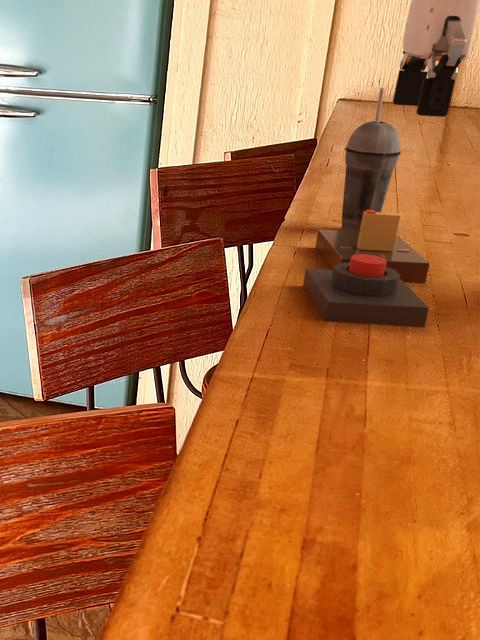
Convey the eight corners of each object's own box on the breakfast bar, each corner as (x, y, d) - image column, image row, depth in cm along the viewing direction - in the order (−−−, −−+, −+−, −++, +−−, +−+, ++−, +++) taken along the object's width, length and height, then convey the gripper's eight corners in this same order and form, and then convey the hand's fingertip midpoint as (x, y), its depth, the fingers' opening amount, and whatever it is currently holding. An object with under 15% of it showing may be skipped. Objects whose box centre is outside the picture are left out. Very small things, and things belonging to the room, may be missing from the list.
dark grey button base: (391, 291, 102) (398, 258, 101) (424, 327, 91) (433, 290, 90) (302, 286, 103) (308, 253, 102) (324, 321, 92) (331, 284, 91)
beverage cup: (390, 231, 128) (418, 87, 121) (378, 241, 123) (407, 91, 115) (338, 223, 132) (363, 83, 124) (325, 233, 126) (349, 87, 119)
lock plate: (392, 251, 118) (395, 232, 117) (425, 283, 105) (430, 261, 104) (314, 247, 119) (318, 228, 118) (338, 278, 106) (342, 257, 105)
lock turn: (390, 248, 110) (397, 210, 108) (393, 251, 108) (400, 213, 107) (356, 246, 110) (363, 209, 108) (359, 249, 109) (366, 211, 107)
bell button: (378, 270, 97) (381, 255, 96) (387, 280, 94) (391, 264, 93) (344, 268, 98) (347, 253, 97) (352, 278, 94) (355, 262, 94)
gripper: (520, -51, 89) (477, 122, 96) (461, -46, 105) (428, 102, 112) (442, -54, 90) (406, 118, 97) (396, -49, 106) (367, 99, 113)
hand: (418, 110), depth 104 cm, fingers open, 9 cm apart
